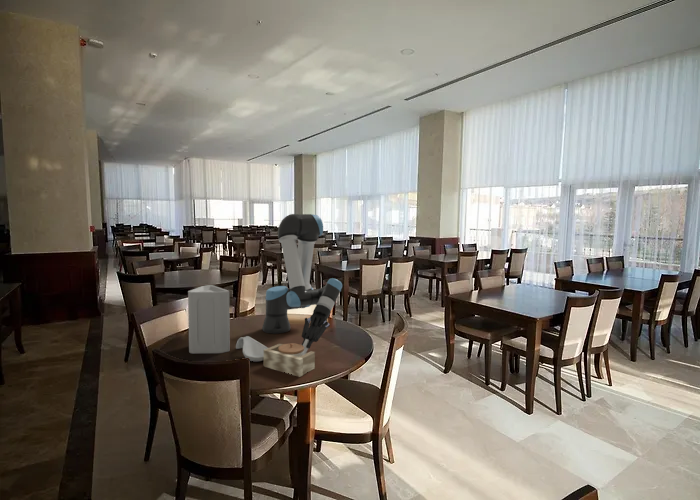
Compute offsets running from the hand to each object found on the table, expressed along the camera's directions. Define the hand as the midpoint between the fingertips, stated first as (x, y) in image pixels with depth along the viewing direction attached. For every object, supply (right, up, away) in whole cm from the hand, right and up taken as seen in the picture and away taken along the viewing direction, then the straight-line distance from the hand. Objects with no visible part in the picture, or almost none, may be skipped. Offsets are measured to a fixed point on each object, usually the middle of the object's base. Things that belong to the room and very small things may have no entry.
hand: (301, 354), depth 166 cm
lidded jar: (-4, -4, -4) cm, 7 cm away
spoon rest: (-24, -3, +6) cm, 25 cm away
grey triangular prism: (-46, -1, +13) cm, 48 cm away
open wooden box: (-4, -4, -6) cm, 8 cm away
